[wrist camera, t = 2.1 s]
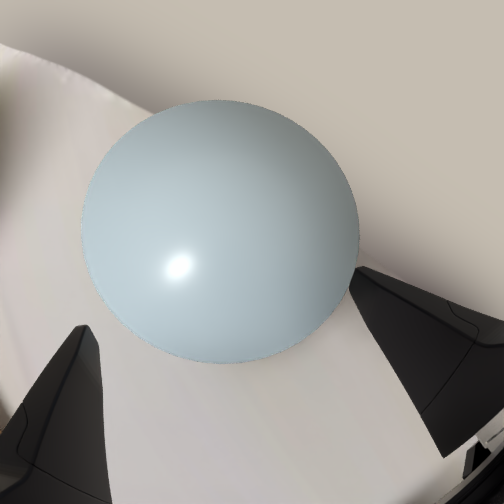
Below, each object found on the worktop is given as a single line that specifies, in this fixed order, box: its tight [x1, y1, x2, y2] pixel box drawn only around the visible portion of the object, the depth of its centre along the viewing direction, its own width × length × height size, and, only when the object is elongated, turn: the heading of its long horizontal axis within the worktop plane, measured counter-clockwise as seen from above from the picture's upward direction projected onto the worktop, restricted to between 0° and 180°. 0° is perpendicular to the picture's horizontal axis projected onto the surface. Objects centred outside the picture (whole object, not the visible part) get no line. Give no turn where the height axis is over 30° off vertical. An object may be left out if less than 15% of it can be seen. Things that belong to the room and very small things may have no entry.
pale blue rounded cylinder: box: [81, 100, 360, 364], centre depth 12 cm, size 6×6×13 cm
